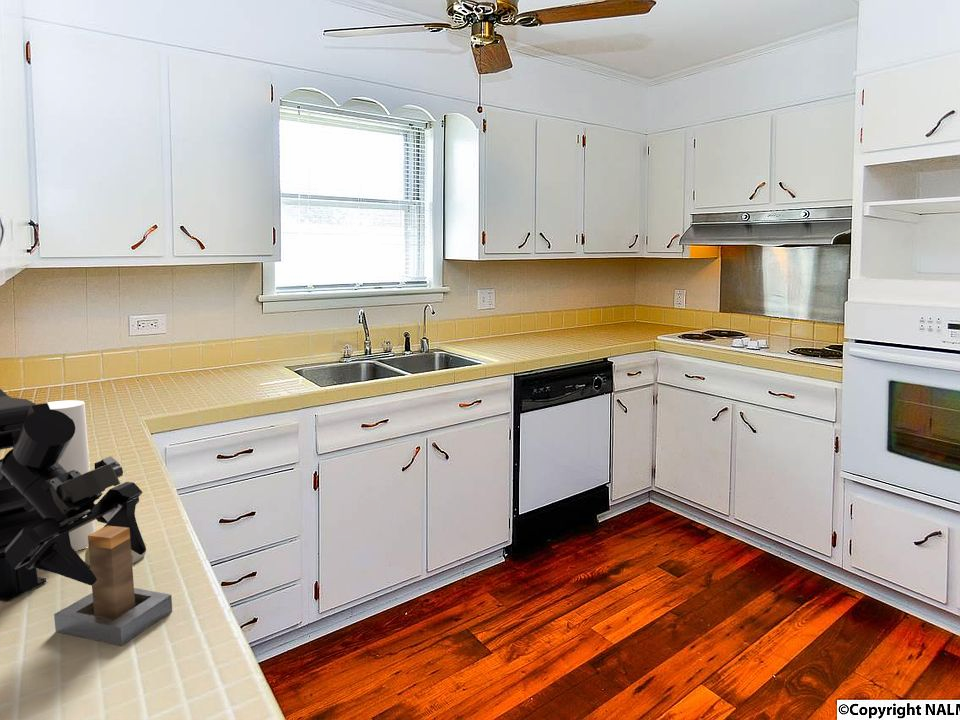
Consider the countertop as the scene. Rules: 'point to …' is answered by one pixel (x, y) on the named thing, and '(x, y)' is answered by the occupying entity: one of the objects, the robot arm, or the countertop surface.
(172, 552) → the countertop surface
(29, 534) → the robot arm
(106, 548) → the walnut pin
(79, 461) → the cylindrical container
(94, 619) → the grey rectangular frame
